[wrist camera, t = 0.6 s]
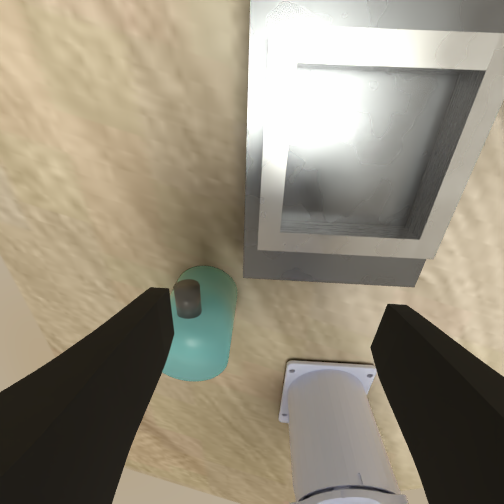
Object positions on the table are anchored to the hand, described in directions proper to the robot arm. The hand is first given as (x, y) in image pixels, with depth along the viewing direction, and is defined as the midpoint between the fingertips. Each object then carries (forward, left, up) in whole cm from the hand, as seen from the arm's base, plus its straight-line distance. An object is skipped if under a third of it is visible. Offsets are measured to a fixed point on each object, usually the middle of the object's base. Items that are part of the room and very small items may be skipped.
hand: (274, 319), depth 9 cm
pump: (-7, +4, -10) cm, 12 cm away
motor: (+6, -4, -10) cm, 12 cm away
